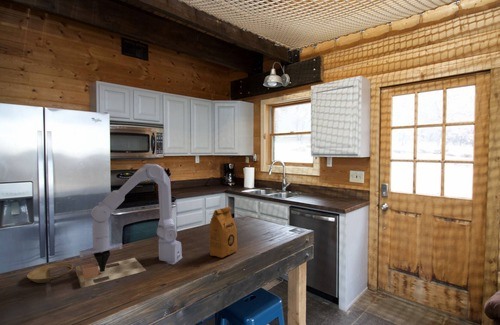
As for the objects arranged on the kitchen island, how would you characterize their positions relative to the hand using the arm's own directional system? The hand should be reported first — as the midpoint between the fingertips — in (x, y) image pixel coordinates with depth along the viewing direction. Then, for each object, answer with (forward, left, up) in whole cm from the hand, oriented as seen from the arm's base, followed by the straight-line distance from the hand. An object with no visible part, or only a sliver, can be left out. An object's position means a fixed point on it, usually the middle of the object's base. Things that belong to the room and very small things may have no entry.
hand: (102, 270), depth 106 cm
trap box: (-2, -3, -2) cm, 4 cm away
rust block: (+3, +3, -1) cm, 4 cm away
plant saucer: (+20, +5, -3) cm, 21 cm away
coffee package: (-38, -33, -2) cm, 51 cm away
